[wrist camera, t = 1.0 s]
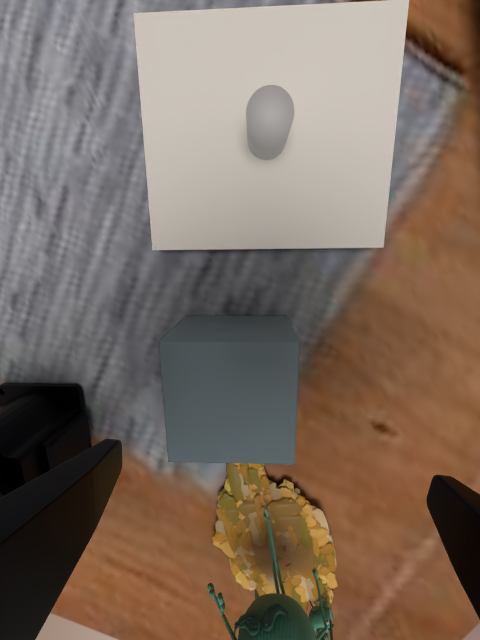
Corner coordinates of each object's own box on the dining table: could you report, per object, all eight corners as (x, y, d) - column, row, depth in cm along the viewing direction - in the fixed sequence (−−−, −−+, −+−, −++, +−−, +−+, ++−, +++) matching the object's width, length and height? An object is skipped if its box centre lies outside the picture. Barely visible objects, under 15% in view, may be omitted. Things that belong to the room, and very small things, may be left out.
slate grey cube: (191, 405, 22) (168, 461, 16) (186, 315, 20) (158, 341, 14) (283, 406, 21) (294, 464, 16) (285, 315, 20) (299, 342, 14)
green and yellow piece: (254, 620, 27) (238, 1023, 12) (190, 449, 25) (83, 683, 11) (355, 602, 26) (471, 1029, 11) (295, 421, 24) (339, 642, 9)
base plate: (160, 250, 19) (132, 249, 15) (144, 34, 16) (104, -46, 12) (373, 247, 18) (410, 246, 14) (394, 22, 16) (449, -67, 11)
